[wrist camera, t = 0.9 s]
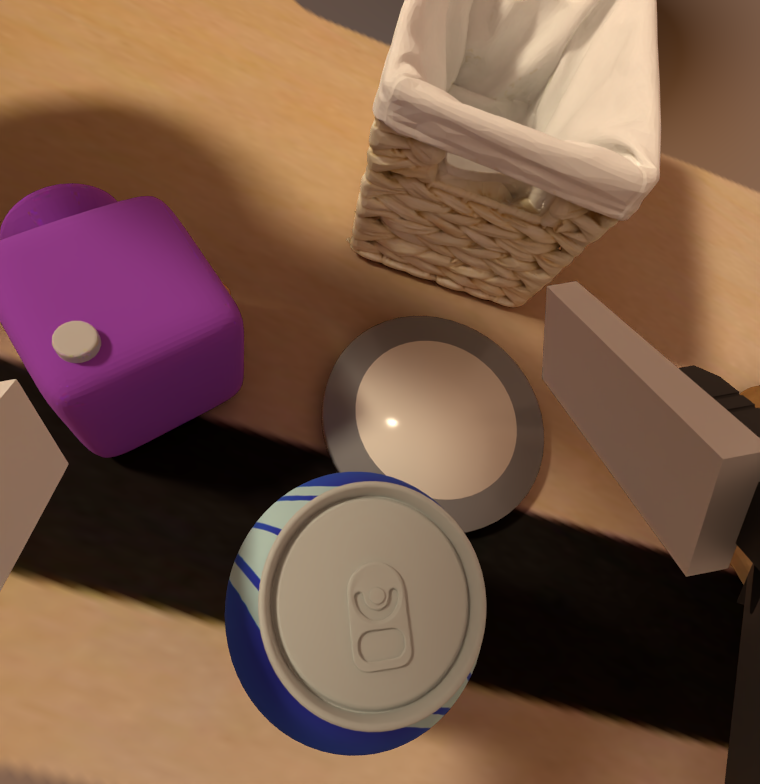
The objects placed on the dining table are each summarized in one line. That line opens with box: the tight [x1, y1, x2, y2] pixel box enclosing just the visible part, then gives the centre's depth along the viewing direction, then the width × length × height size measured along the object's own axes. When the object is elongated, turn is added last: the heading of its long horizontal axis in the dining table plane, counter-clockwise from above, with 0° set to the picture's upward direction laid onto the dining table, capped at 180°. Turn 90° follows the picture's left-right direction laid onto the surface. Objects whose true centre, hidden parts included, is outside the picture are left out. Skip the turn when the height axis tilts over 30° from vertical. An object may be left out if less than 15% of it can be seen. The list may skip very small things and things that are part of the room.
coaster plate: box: [322, 316, 544, 533], centre depth 35 cm, size 15×15×1 cm
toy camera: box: [0, 183, 244, 458], centre depth 28 cm, size 11×14×10 cm
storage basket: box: [346, 0, 661, 307], centre depth 38 cm, size 24×16×15 cm
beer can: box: [225, 472, 486, 756], centre depth 22 cm, size 8×8×16 cm
